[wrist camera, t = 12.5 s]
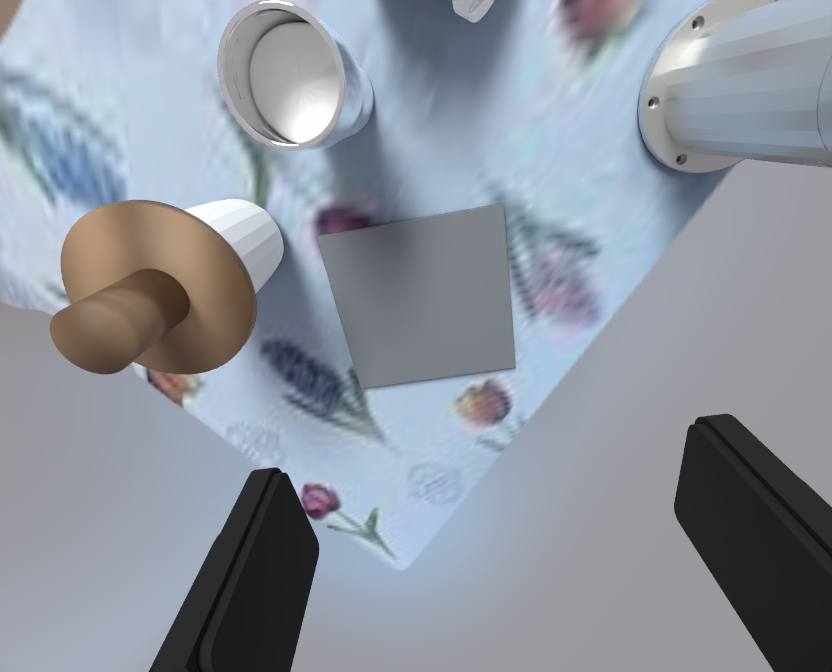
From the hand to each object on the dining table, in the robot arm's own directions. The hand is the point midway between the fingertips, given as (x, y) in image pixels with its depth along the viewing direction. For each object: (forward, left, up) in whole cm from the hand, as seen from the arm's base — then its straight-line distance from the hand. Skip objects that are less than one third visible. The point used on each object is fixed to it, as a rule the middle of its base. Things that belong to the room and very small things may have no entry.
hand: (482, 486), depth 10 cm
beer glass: (+7, -11, -32) cm, 35 cm away
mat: (+3, +9, -32) cm, 34 cm away
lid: (+19, -1, -18) cm, 26 cm away
